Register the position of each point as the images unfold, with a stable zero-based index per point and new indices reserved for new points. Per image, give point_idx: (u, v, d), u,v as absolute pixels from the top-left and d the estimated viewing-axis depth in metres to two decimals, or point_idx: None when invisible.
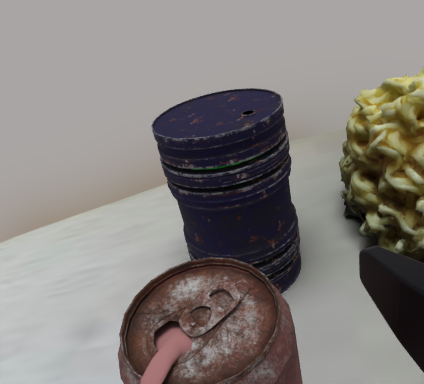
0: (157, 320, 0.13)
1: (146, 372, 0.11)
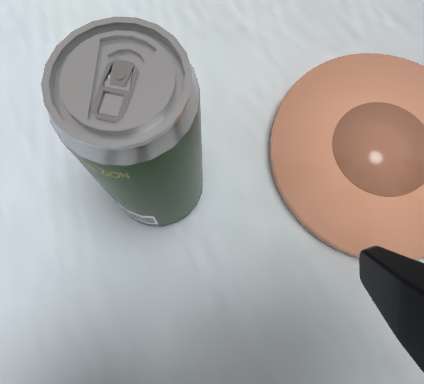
0: None
1: None
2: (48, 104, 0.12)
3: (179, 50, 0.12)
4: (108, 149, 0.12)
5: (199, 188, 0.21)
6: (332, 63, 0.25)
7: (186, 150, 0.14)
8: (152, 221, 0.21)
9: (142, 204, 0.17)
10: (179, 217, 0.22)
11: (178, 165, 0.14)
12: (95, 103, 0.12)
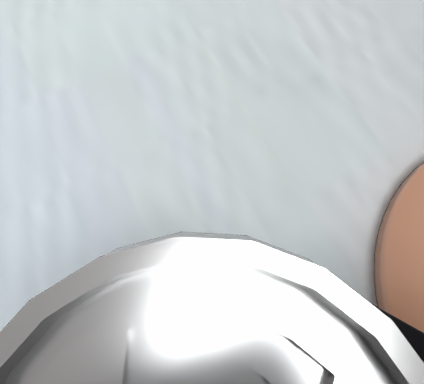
0: None
1: None
2: None
3: None
4: None
5: None
6: None
7: None
8: None
9: None
10: None
11: None
12: None
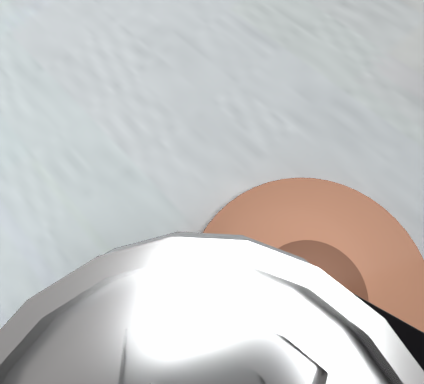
0: None
1: None
2: None
3: None
4: None
5: None
6: (236, 203, 0.22)
7: None
8: None
9: None
10: None
11: None
12: None
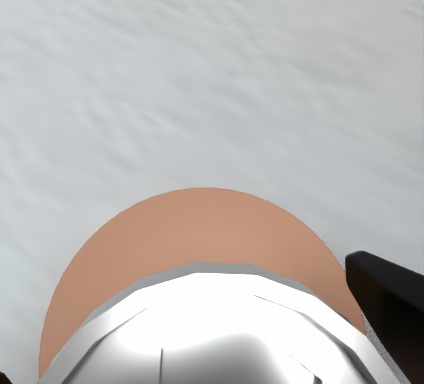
0: None
1: None
2: None
3: None
4: None
5: None
6: (99, 237, 0.17)
7: None
8: None
9: None
10: None
11: None
12: None
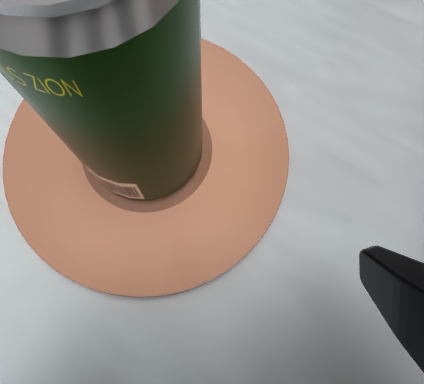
0: None
1: None
2: None
3: None
4: (25, 15, 0.06)
5: (198, 148, 0.16)
6: None
7: (178, 52, 0.08)
8: (135, 193, 0.16)
9: (115, 160, 0.12)
10: (172, 188, 0.16)
11: (165, 81, 0.09)
12: None
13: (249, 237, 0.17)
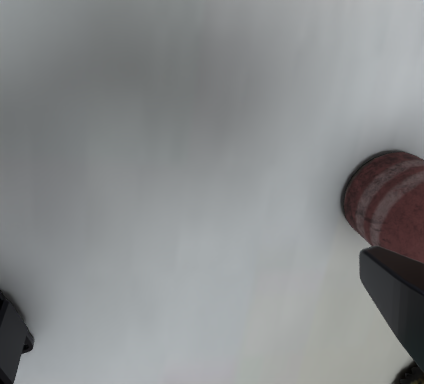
0: None
1: None
2: None
3: None
4: None
5: None
6: None
7: None
8: None
9: None
10: None
11: None
12: None
13: None
